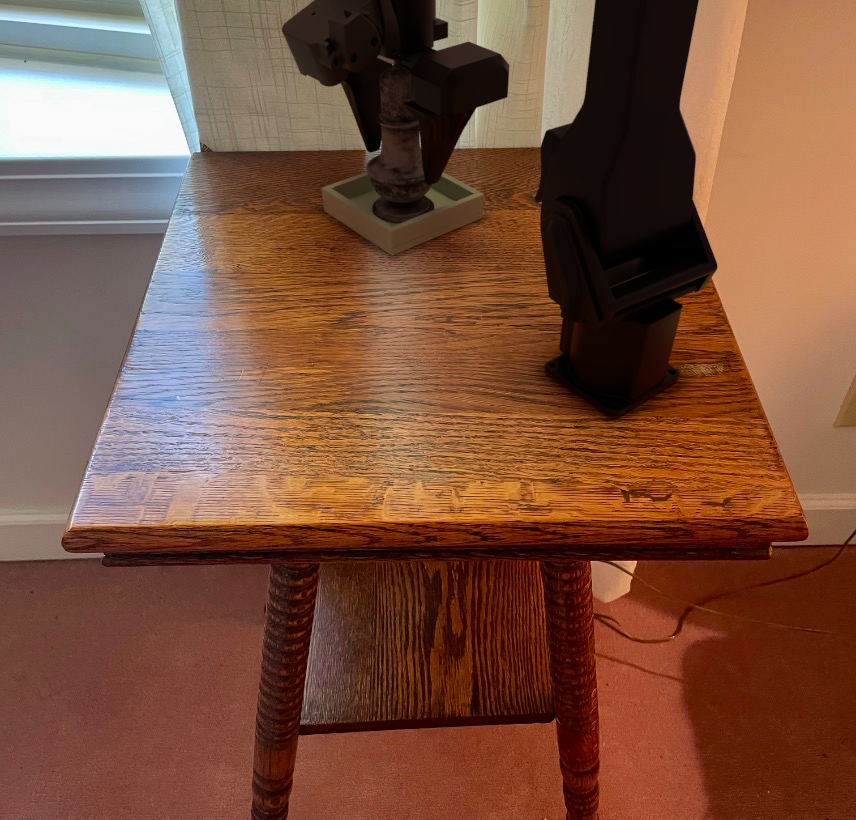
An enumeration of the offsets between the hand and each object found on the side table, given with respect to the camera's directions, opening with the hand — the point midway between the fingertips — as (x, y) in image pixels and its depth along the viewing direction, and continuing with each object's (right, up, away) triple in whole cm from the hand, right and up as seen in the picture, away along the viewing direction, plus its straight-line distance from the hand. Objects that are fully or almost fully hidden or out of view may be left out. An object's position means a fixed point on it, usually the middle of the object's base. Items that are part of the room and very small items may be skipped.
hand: (401, 166), depth 67 cm
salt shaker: (0, -3, +3) cm, 4 cm away
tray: (0, -3, +3) cm, 4 cm away
